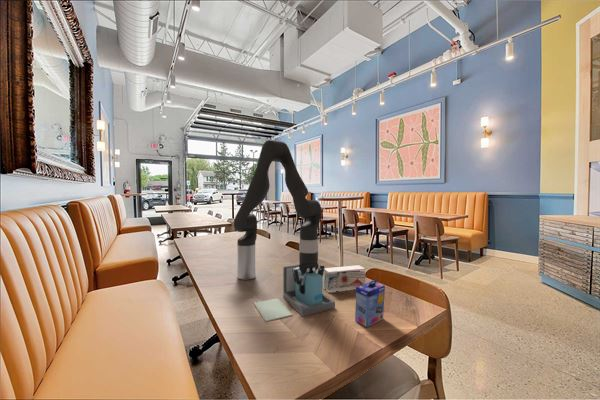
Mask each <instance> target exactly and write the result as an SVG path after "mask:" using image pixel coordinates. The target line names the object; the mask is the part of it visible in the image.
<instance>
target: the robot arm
mask: <svg viewBox="0 0 600 400" xmlns="http://www.w3.org/2000/svg"><path fill="white" fill-rule="evenodd" d="M272 162H277V163H280V165H281V166H282V167H283V169H284V172H285V173H284V182H285V186H286V187H287V189H288V191H289V193H290V195H291V197H292V202H293V205H294V210H295V212H296V214H297V215H298V216H299V217H300V218H301V219H305V222H304V223H303V224H301V225H300V228H299V229H300V230H299V244H298V245H299V246H298V247H299V249H298V250H299V251H298V252H299V255H298V257H299V259H298V260H299V261H298V262H299V264H298V265H299V267H298V268H293V269H292V272H293V277H294V281H295V283H297V284H299V292H300V293H301V294H304V282H305V280H306V275H307V274H309V273H317V274H320V275H321V276H322V279H323V273H324V268H326V267H325V265H323V264H319V241H318V233H319V231H318V229H319V225H320V221H321V217H322V205H321V204H320V202H319V201H318V200H315V199H313V200H312V199H307V196H308V194H309V190H308V188H307V186H306V184H305V182H304V181H303V179H302V177H301V175H300V173H299V171H298V168H297V166H296V164H295V163H296V162H295V161H294V159H293V155H292V152H291V151H290V147H289V146H288V144H287V143H286V142H284V141H280V140H275V139H267V140H265V141H264V143H263V144H262V147H261V150H260V154H259V158H258V161H257V164H256V168H255V170H254V173H253V176H252V178H251V181H250V182H249V185H248V188H247V190H246V194H245V197H244V198H243V200H242V203H241V206H240V207H239V209H238V211H237V212H236V215H235V218H234V220H233V228H234V231H236V232H238V233H245V234H243V235H242V236H241V237H239V238H238V239H237V246H236V247H237V248H236V249H237V251H236V252H237V257H236V259H237V263H236V264H237V269H236V271H237V273H236V274H237V276H236V277H237V279H239V280H246V281H247V280H252V279H254V278H256V241H257V236H258V234H257V232H258V218H257V217H256V214H254V213H252V211H253V210H255V209H256V208H257V207H258V206H260V204H261V203H262V202H263V201H265V199H266V196H267V194H268V192H269V190H270V179H269V169H270V166H271V164H272ZM299 270H300V271H301V274H300V279H299V276H298V273H299ZM302 274H303V275H304V276H302Z"/></svg>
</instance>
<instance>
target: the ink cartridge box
mask: <svg viewBox="0 0 600 400" xmlns="http://www.w3.org/2000/svg"><path fill="white" fill-rule="evenodd" d="M377 281H378V279H377V278H376V279H374V280H372V281H368V282H365V284H362V285H360V286H357V287H356V289H355V315H354V317H355V318H354V321H355V322H357V323H359V324H360V325H362V326H363V327H366V328H368V327H371V326H372V325H374V324H376V323H378V322H381V321H382V320H383V319H384V311H385V291H386V290H385V289H386V285H385V284H382V283H380V282H377Z"/></svg>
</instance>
